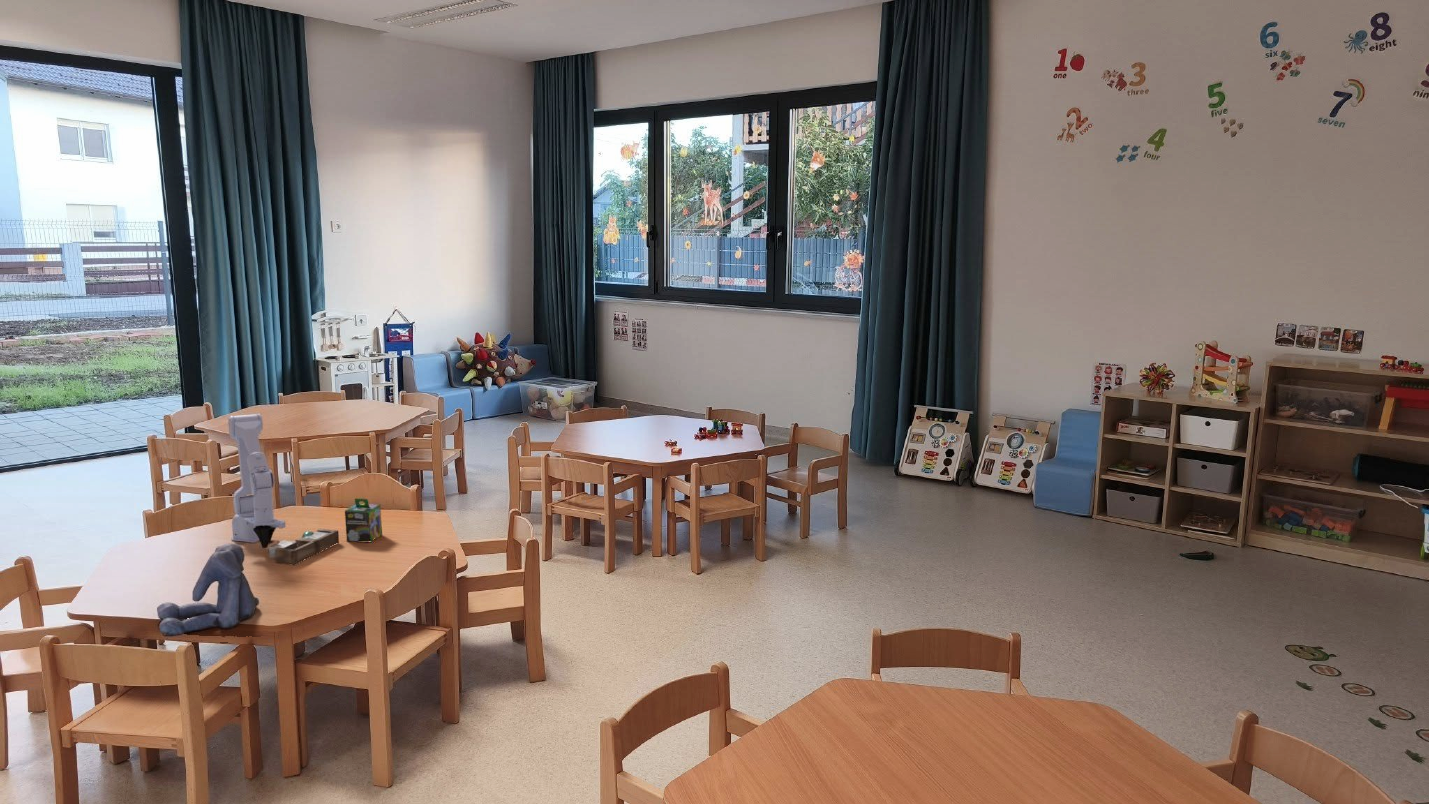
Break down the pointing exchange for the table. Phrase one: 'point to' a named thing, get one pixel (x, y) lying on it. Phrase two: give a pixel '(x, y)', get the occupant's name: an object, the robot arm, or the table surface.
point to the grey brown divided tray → (306, 548)
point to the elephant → (231, 598)
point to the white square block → (280, 546)
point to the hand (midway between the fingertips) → (266, 547)
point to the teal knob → (313, 535)
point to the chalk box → (363, 521)
